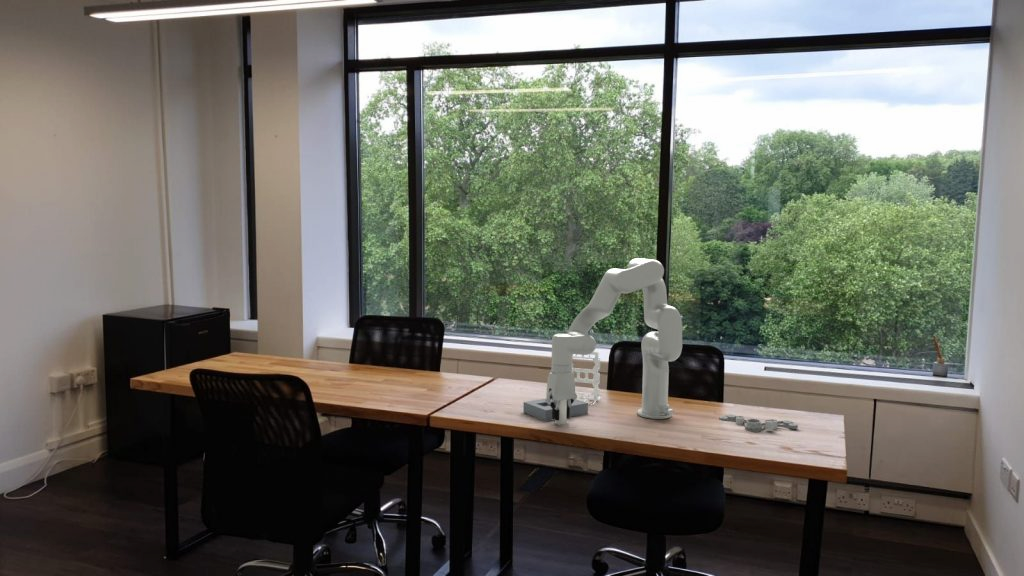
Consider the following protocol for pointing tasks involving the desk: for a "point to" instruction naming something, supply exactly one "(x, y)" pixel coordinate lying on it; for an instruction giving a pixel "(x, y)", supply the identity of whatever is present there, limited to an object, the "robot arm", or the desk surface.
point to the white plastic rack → (586, 380)
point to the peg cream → (562, 412)
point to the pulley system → (759, 423)
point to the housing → (545, 411)
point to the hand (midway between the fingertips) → (560, 418)
